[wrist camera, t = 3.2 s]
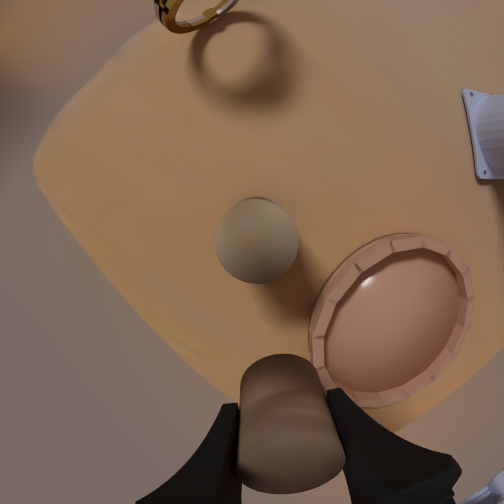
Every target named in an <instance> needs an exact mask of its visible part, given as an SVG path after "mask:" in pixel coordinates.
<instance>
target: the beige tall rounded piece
mask: <svg viewBox="0 0 504 504" xmlns="http://www.w3.org/2000/svg"><path fill="white" fill-rule="evenodd" d="M215 249H216V254H217V257H218V259H219V261H220V263H221V265H222V266H223V267H224V269H225V270H226V271H227V272H228V273H229V274H231V275H232V276H233V277H235V278H237V279H239V280H241V281H244V282H247V283H256V284H259V283H266V282H270V281H273V280H275V279H277V278H279V277H280V276H282V275H283V274H284V273H285V272H287V271H288V269H289V268H290V267H291V266H292V264H293V263H294V261H295V259H296V256H297V253H298V249H299V236H298V231H297V228H296V226H295V224H294V222H293V220H292V219H291V217H290V216H289V215H288V214H287V213H286V212H285V211H284V210H283V209H282V208H280V207H279V206H278V205H276V204H275V203H274V202H272V201H270V200H268V199H265V198H261V197H252V198H247V199H245V200H243V201H241V202H239V203H238V204H237V205H235V206H234V207H233V208H232V209H231V210H230V211H229V212H228V213H227V214H226V215H225V216H224V217H223V218H222V220H221V222H220V223H219V226H218V228H217V231H216V235H215Z"/></svg>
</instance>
